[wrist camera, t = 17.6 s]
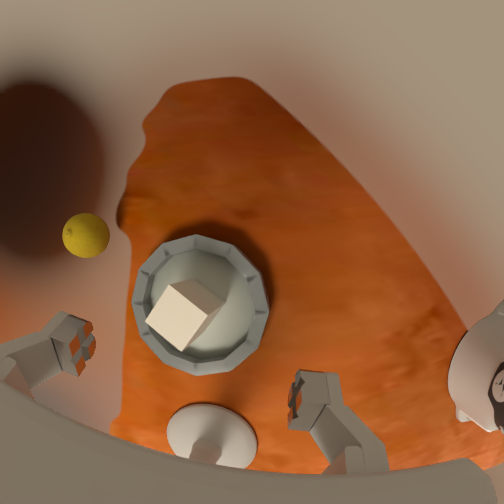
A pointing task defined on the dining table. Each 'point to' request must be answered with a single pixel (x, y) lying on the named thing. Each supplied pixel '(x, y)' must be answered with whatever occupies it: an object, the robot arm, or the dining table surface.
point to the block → (184, 312)
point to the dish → (219, 282)
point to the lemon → (86, 235)
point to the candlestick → (212, 436)
